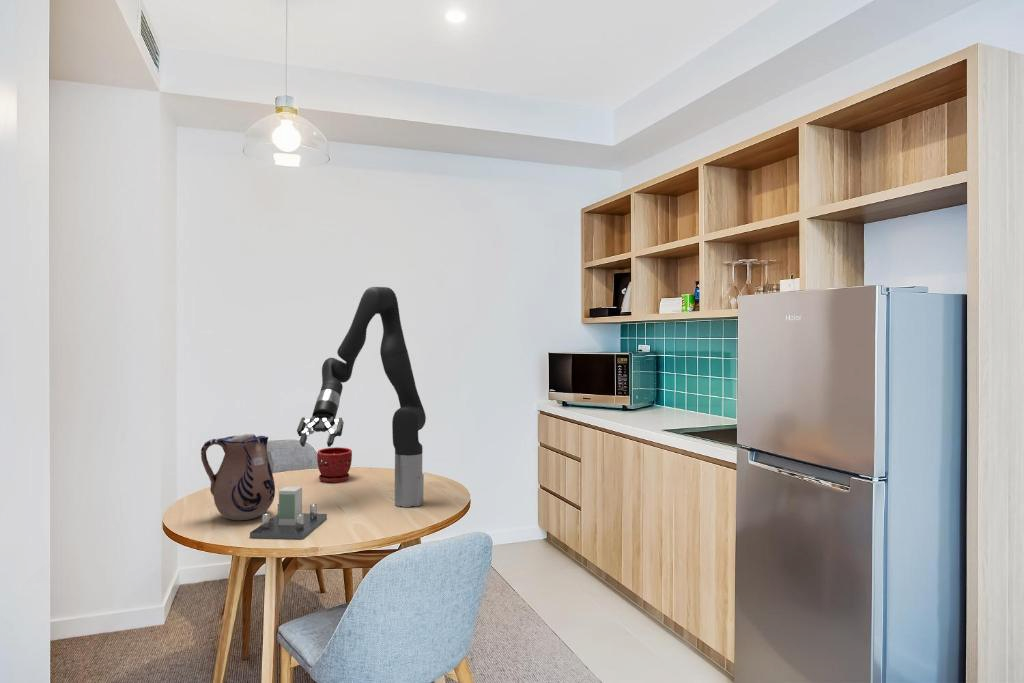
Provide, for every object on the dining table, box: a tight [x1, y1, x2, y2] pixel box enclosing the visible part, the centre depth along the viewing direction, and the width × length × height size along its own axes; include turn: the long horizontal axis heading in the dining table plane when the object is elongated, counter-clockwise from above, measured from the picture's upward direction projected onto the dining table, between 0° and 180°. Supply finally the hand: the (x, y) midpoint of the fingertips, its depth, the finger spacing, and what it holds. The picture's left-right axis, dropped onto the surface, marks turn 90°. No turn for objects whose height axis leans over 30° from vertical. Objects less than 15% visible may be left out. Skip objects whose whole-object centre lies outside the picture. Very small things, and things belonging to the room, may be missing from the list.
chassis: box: [249, 503, 328, 540], centre depth 186 cm, size 15×20×6 cm
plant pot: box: [316, 446, 353, 483], centre depth 247 cm, size 13×13×12 cm
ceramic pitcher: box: [200, 433, 276, 521], centre depth 196 cm, size 18×21×25 cm
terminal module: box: [278, 486, 303, 525], centre depth 186 cm, size 5×5×10 cm
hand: (315, 445), depth 203 cm, fingers open, 8 cm apart
